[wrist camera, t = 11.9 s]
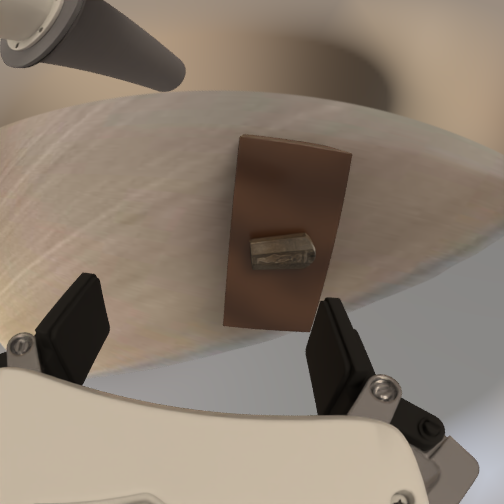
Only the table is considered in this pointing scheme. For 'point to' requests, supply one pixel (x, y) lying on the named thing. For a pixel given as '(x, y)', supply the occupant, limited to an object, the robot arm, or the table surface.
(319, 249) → the shelf
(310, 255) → the block
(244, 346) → the table surface
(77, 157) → the table surface
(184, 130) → the table surface
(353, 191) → the table surface
